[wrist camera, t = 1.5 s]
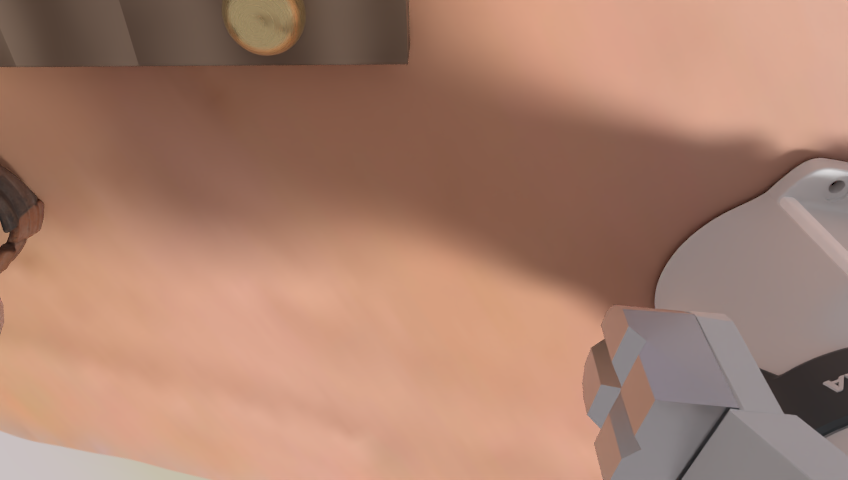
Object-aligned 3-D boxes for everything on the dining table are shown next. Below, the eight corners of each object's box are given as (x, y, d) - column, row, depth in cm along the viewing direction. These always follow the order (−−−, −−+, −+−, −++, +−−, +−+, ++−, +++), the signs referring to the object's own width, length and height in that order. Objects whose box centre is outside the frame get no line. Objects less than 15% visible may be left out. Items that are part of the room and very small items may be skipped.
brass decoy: (306, -42, 27) (291, -20, 24) (316, 39, 29) (303, 68, 26) (226, -41, 27) (202, -19, 24) (241, 39, 29) (221, 68, 26)
